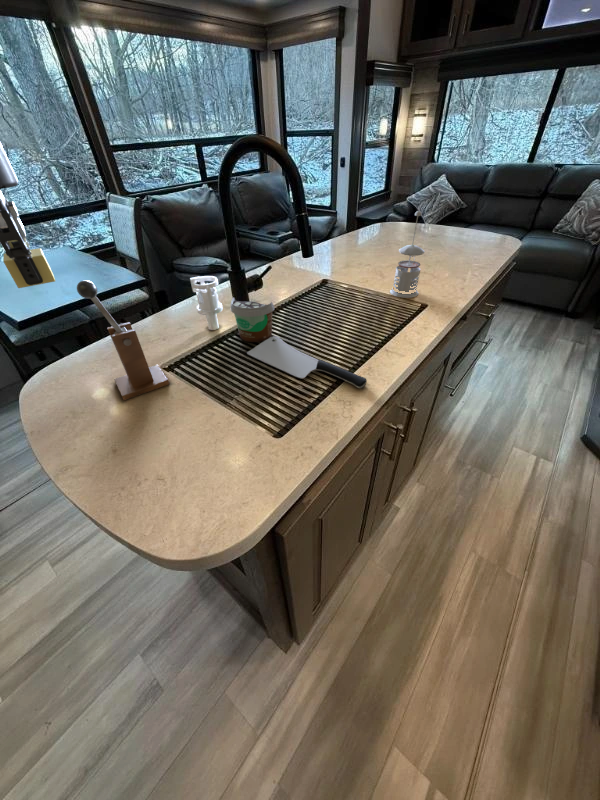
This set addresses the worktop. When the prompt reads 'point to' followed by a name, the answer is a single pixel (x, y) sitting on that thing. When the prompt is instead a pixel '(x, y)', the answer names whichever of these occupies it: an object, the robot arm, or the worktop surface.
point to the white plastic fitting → (207, 299)
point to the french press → (404, 276)
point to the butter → (40, 264)
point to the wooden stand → (135, 365)
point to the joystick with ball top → (97, 302)
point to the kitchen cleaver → (299, 361)
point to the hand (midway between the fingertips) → (34, 278)
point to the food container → (253, 320)
